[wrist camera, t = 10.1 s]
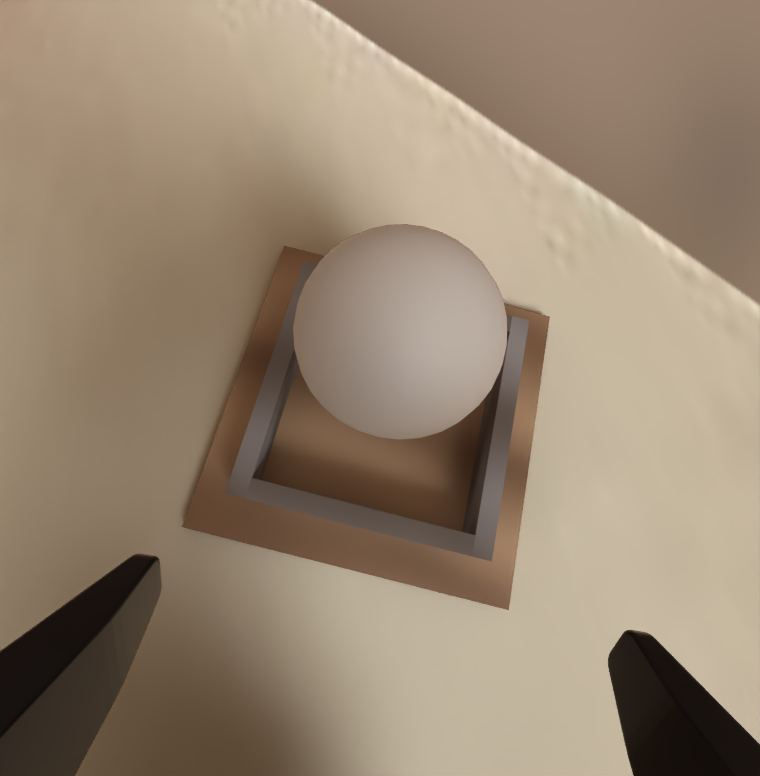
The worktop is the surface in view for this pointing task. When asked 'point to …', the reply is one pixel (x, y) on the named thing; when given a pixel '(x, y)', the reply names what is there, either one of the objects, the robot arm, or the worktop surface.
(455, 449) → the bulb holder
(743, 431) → the worktop surface
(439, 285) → the lightbulb
